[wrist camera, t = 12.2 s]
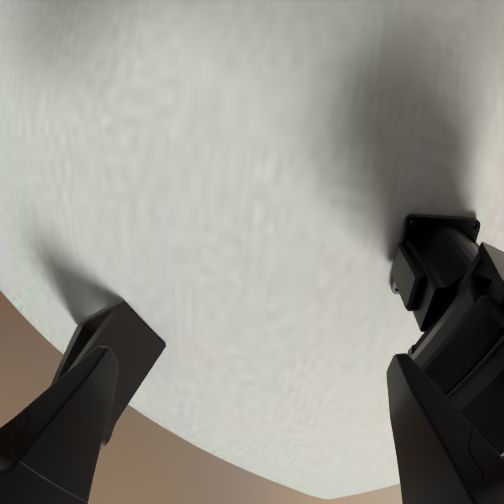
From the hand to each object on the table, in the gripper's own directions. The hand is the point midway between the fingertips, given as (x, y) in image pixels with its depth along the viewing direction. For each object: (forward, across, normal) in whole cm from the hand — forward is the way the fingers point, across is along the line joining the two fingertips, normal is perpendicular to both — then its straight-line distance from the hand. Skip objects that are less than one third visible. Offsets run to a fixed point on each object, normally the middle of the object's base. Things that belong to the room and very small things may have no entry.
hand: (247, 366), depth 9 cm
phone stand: (+14, +15, +14) cm, 25 cm away
